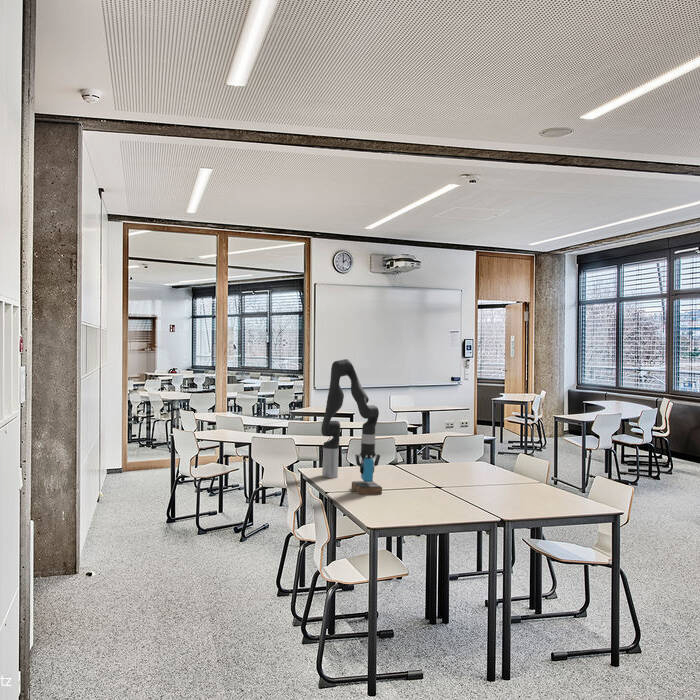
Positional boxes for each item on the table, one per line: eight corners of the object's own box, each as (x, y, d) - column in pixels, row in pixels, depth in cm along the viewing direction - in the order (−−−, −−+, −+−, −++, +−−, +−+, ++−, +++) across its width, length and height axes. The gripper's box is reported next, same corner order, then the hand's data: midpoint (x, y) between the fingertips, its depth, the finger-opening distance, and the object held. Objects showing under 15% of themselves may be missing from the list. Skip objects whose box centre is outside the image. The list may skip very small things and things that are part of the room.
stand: (351, 488, 351) (351, 481, 351) (372, 487, 354) (372, 480, 354) (360, 494, 336) (360, 487, 336) (381, 494, 340) (382, 486, 340)
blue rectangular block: (360, 477, 351) (361, 455, 351) (368, 477, 352) (369, 455, 351) (364, 482, 339) (365, 459, 339) (372, 482, 340) (373, 459, 340)
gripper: (357, 443, 339) (356, 475, 340) (383, 443, 344) (381, 474, 344) (353, 441, 347) (352, 472, 347) (378, 441, 351) (376, 472, 351)
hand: (366, 473), depth 345 cm, fingers closed on blue rectangular block, 5 cm apart
